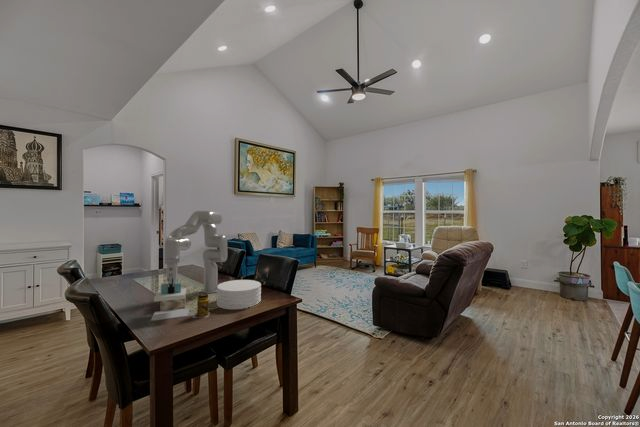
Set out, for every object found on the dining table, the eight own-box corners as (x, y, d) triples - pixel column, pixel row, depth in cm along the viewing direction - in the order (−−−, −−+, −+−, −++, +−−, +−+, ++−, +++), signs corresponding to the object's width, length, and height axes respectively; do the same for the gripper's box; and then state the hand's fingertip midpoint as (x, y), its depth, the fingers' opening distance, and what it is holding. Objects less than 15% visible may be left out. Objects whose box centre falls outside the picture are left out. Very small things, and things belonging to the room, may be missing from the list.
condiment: (208, 317, 154) (208, 296, 154) (191, 318, 152) (192, 297, 152) (210, 312, 161) (210, 292, 161) (194, 313, 159) (195, 293, 159)
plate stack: (269, 302, 182) (269, 285, 182) (230, 313, 162) (231, 293, 162) (245, 293, 201) (246, 277, 201) (208, 302, 181) (209, 284, 180)
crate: (185, 301, 179) (186, 288, 179) (184, 308, 167) (184, 293, 167) (163, 304, 174) (163, 290, 174) (160, 311, 162) (160, 295, 162)
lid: (186, 291, 166) (186, 279, 166) (184, 298, 153) (184, 285, 153) (158, 294, 161) (158, 281, 161) (154, 301, 147) (154, 288, 147)
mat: (189, 309, 167) (189, 308, 167) (187, 316, 155) (187, 315, 155) (154, 312, 159) (154, 311, 159) (151, 321, 147) (151, 319, 147)
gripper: (178, 262, 151) (177, 295, 151) (180, 258, 166) (179, 288, 166) (162, 263, 148) (161, 297, 148) (166, 258, 163) (165, 289, 163)
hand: (171, 292), depth 157 cm, fingers closed on lid, 3 cm apart
